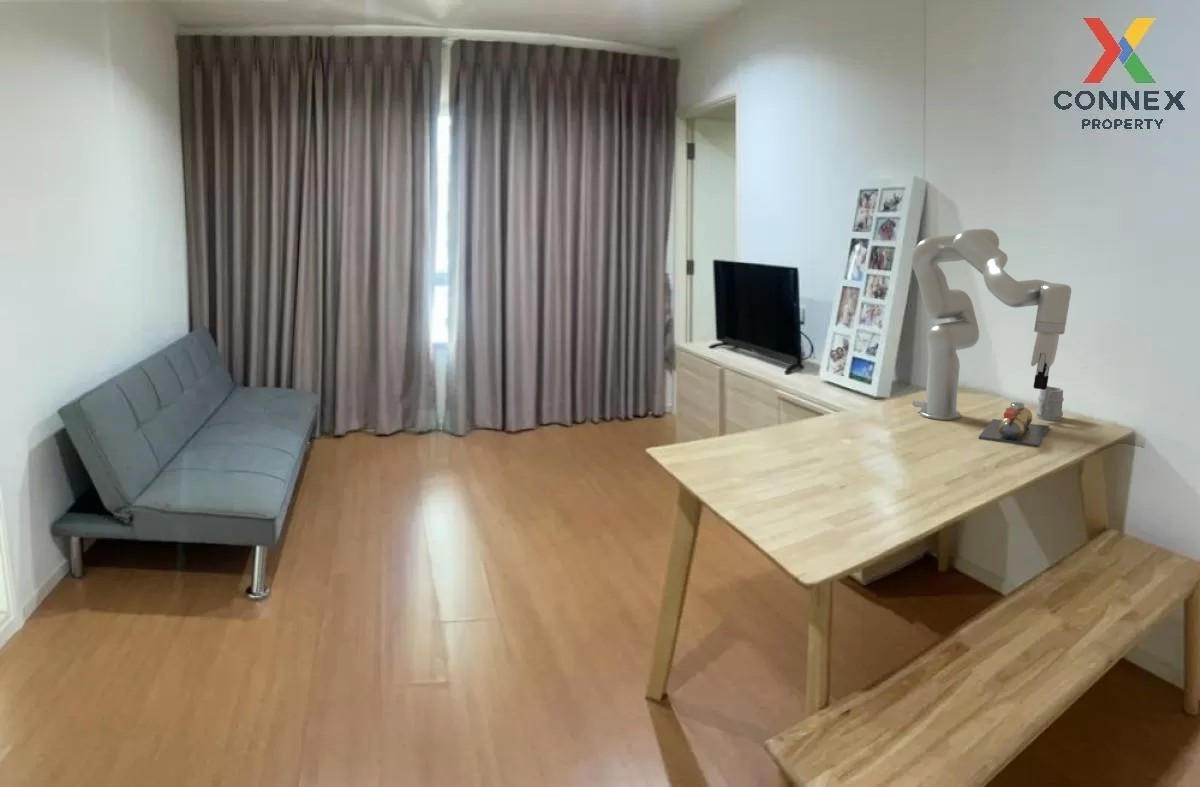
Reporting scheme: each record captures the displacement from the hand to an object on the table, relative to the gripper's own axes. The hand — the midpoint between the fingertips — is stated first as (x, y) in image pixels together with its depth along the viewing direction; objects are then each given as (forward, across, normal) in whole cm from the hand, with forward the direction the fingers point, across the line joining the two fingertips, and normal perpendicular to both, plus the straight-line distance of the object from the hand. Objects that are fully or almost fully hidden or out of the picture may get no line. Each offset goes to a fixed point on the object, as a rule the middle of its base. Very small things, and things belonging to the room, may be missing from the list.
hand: (1039, 388), depth 218 cm
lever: (+9, +1, -6) cm, 10 cm away
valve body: (+17, -5, -5) cm, 18 cm away
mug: (+17, -27, 0) cm, 32 cm away
